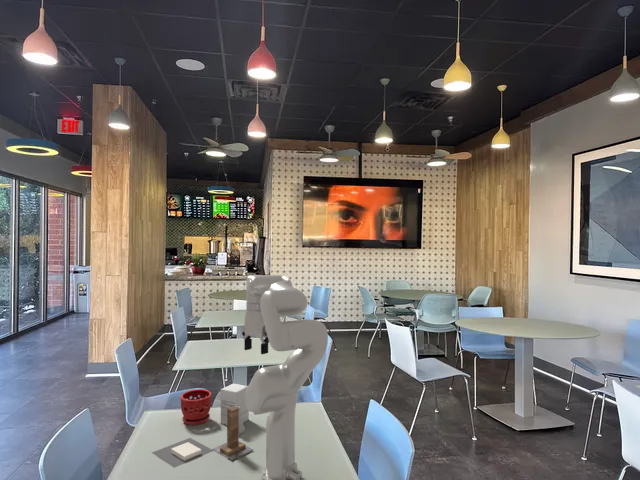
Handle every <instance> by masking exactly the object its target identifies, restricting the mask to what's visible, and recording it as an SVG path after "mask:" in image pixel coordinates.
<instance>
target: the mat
mask: <svg viewBox="0 0 640 480" xmlns="http://www.w3.org/2000/svg"><path fill="white" fill-rule="evenodd" d="M187 442H189V443H191V444H192V445H194V446H196V447H198V448H200V449H201V454H199V455H197V456H195V457H192V458H190V459H188V460H185V461H184V460H182V459H180V458H179V457H177V456H175V455H174V454H172V453H171V449H172V448H174V447H177V446H179V445H182V444H184V443H187ZM212 449H213V448H212ZM212 449H211V448H209V447H208V446H206V445H204V444H203V443H201V442H199V441H197V440H194V439H193V438H191V437H188V438H185V439H183V440H180V441H177V442H176V443H173V444H170V445H168V446H165V447H163V448H161V449H158V450H155V451H153V452H151V454H153V455H155V456H156V457H157V458H158V459H160V460H162V461H163V462H165V463H167V464H168V465H170V466H171V467H173V468H176V467H179V466H182V465H184V464H186V463H189V462H190V461H193V460H195V459H197V458H200V457H202V456H204V455H208V454H209V453H212V452H213V451H214V450H212ZM214 452H215V451H214Z"/></svg>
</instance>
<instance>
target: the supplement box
mask: <svg viewBox="0 0 640 480" xmlns="http://www.w3.org/2000/svg"><path fill="white" fill-rule="evenodd" d="M248 386H249V385H243V384H239V383H231V384H229V385H228V386H225V387H223V388H221V389H220V424H223V425H226V426H227V409H228V408H231V407H240V417H241V420H242V422H243V424H244V423H246V422H247V421H248V420H249V414H250V412H249V411H248V410H247V408H246V405H245V394H246V391H247V388H248Z"/></svg>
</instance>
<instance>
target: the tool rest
mask: <svg viewBox="0 0 640 480" xmlns="http://www.w3.org/2000/svg"><path fill="white" fill-rule="evenodd" d="M226 445H227V442H225V443H223V444H220V445H218V446H216V447H214V448H213V447H212V450H214V452H215V453H217V454H220V456H222V457H225V458H226V459H227V460H229V461H230V462H233V461H235V460H237V459H240V458H242V457H244V456H246V455H248V454H250V453H253V452H254V449H253V448H251V447H249V446H247V445H245V448H244V449H241V450H239V451H237V452H235V453H233V454H230V455H226V454H224V453H222V452H220V448H221V447H223V446H226Z"/></svg>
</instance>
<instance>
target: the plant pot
mask: <svg viewBox="0 0 640 480" xmlns="http://www.w3.org/2000/svg"><path fill="white" fill-rule="evenodd" d="M190 397H191V398H190ZM212 399H213V398H212V392H211V391H209V389H202V388H201V389H191V390H187V391H185V392H183V393H182V394H181V395H180V409H181V413H182V415H183V416H182V422H183V423H184V424H186V425H189V426H197V425H202V424H204V423H206V422H208V421H209V419H210V416H211V415H210V410H211V408H212V407H211V406H212Z"/></svg>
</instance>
